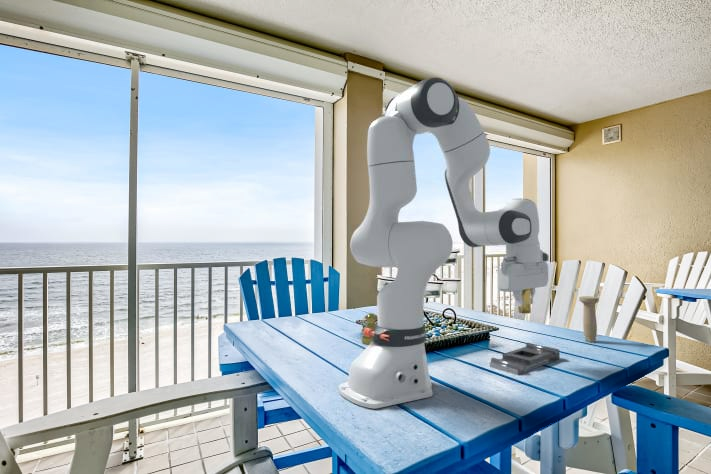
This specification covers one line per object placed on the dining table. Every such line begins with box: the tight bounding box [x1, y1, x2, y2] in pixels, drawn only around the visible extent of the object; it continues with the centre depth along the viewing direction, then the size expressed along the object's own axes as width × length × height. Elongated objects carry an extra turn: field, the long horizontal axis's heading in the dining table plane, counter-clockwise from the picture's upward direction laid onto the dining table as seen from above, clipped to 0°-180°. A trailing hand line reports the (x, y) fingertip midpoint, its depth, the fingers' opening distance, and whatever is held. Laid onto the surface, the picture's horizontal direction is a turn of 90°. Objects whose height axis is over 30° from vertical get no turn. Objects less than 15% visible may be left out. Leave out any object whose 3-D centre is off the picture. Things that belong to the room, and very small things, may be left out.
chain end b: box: [502, 342, 561, 365], centre depth 103 cm, size 16×9×3 cm, turn 125°
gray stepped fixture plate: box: [489, 355, 549, 376], centre depth 100 cm, size 16×9×2 cm, turn 125°
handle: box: [578, 295, 600, 343], centre depth 124 cm, size 5×6×15 cm
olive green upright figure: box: [360, 312, 377, 345], centre depth 127 cm, size 7×7×10 cm
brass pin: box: [517, 289, 532, 314], centre depth 102 cm, size 3×3×7 cm
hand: (524, 305), depth 102 cm, fingers closed on brass pin, 3 cm apart
